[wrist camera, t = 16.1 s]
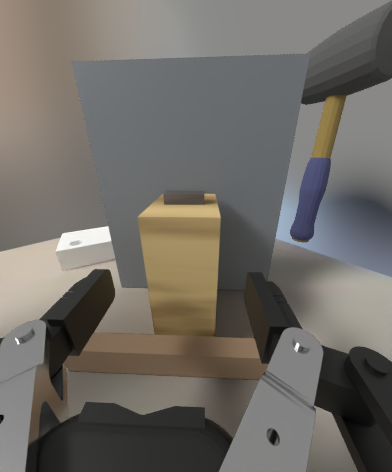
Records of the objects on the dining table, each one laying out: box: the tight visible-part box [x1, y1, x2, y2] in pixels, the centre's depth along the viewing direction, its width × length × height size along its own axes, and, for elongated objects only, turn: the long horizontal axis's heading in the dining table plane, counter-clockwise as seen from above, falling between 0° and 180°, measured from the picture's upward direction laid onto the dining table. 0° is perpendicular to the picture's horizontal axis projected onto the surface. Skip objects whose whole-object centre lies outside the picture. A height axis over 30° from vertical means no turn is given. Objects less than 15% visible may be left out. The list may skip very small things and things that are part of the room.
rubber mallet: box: [290, 1, 392, 242], centre depth 29 cm, size 12×8×30 cm, turn 14°
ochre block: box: [138, 191, 221, 337], centre depth 16 cm, size 7×5×13 cm
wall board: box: [65, 54, 310, 380], centre depth 15 cm, size 12×18×22 cm, turn 87°
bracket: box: [55, 226, 115, 271], centre depth 31 cm, size 13×7×8 cm, turn 117°
